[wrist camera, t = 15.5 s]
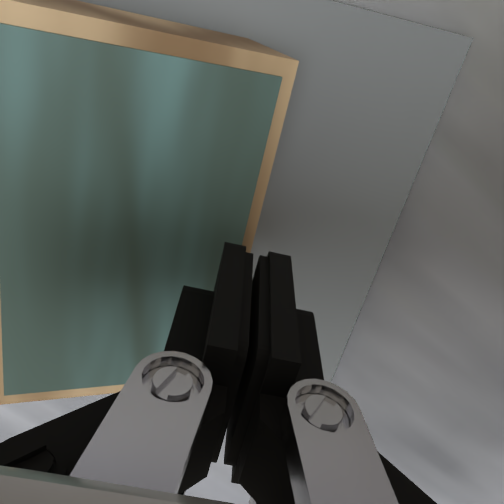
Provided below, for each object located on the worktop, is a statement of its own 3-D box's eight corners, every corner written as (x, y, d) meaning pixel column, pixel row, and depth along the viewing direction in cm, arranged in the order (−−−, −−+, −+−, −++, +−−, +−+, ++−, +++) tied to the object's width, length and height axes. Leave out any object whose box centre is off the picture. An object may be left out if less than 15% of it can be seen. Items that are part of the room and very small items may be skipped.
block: (300, 61, 11) (-34, -9, 8) (218, 384, 15) (-11, 407, 12) (248, 38, 13) (-12, -20, 11) (191, 316, 18) (1, 323, 15)
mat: (467, 36, 14) (473, 37, 13) (324, 385, 20) (325, 393, 20) (-60, -103, 12) (-72, -107, 12) (-31, 314, 19) (-38, 321, 18)
